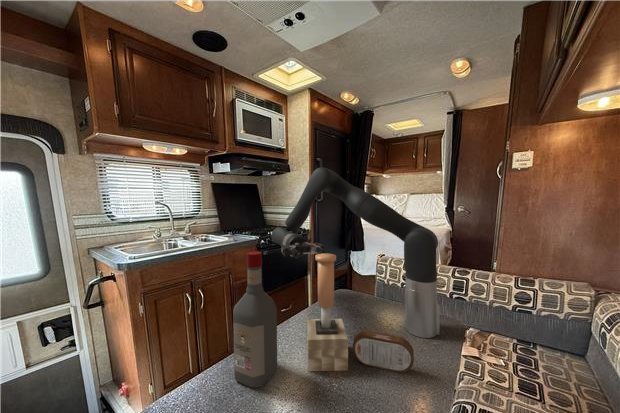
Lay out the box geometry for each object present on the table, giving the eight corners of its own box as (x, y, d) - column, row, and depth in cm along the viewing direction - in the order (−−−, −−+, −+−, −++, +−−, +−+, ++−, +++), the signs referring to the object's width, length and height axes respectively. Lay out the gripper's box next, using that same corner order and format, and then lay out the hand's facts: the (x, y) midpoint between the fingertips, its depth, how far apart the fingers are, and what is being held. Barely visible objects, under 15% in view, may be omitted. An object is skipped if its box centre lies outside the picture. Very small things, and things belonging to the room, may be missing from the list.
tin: (413, 369, 59) (413, 336, 59) (414, 378, 56) (414, 343, 56) (353, 356, 64) (353, 326, 64) (351, 364, 61) (351, 332, 61)
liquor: (259, 392, 52) (257, 259, 51) (228, 379, 56) (226, 255, 55) (281, 366, 61) (280, 250, 60) (253, 356, 64) (251, 247, 64)
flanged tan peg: (335, 326, 66) (334, 253, 66) (337, 338, 61) (337, 258, 60) (315, 327, 66) (314, 253, 66) (316, 339, 61) (315, 258, 60)
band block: (341, 345, 69) (341, 316, 69) (348, 370, 59) (347, 335, 59) (307, 346, 69) (307, 316, 68) (308, 371, 59) (307, 336, 58)
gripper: (276, 235, 86) (288, 243, 71) (312, 233, 91) (331, 240, 76) (276, 255, 86) (288, 268, 71) (312, 252, 91) (330, 263, 76)
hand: (310, 253), depth 73 cm, fingers open, 8 cm apart
